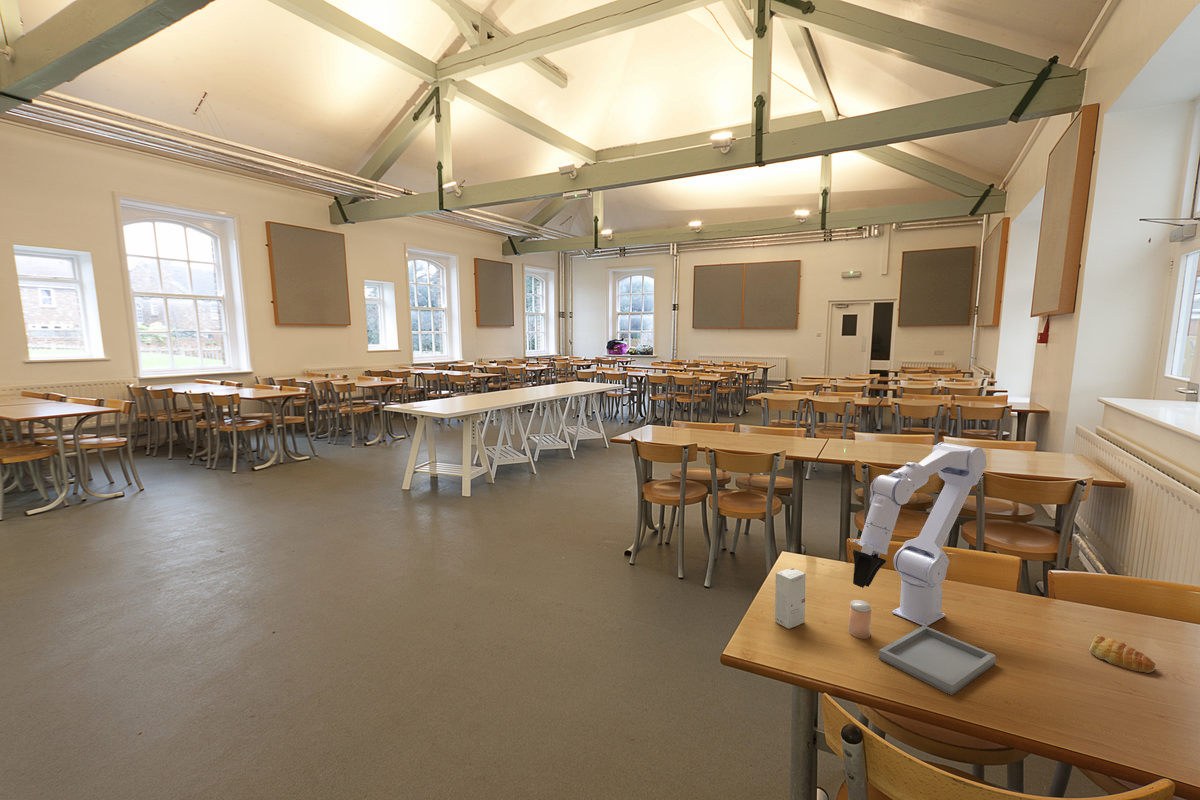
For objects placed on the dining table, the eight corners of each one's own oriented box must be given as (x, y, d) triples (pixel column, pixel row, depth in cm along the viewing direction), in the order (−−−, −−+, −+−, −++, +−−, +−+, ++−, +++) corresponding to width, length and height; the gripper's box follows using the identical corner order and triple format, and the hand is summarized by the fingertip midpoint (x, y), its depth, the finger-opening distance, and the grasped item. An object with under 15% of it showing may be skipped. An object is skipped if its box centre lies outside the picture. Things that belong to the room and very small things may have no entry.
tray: (923, 633, 120) (923, 625, 120) (994, 664, 108) (995, 655, 108) (878, 658, 110) (879, 649, 110) (951, 695, 99) (952, 685, 98)
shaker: (855, 626, 123) (857, 597, 123) (874, 634, 120) (875, 605, 119) (844, 631, 121) (845, 602, 120) (862, 640, 117) (864, 610, 117)
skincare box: (789, 629, 122) (790, 579, 121) (773, 621, 126) (774, 572, 125) (805, 622, 126) (807, 573, 124) (789, 614, 129) (791, 566, 128)
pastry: (1158, 668, 107) (1160, 650, 106) (1148, 679, 103) (1150, 661, 103) (1097, 646, 115) (1098, 629, 114) (1086, 656, 111) (1087, 639, 111)
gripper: (864, 523, 127) (847, 577, 126) (854, 518, 116) (836, 578, 115) (897, 534, 123) (879, 590, 122) (890, 530, 112) (871, 592, 111)
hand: (860, 585), depth 118 cm, fingers open, 7 cm apart
